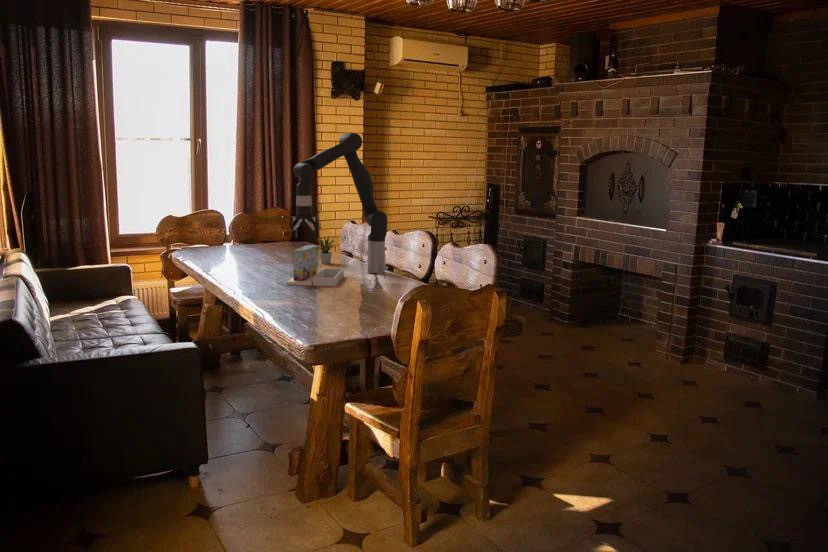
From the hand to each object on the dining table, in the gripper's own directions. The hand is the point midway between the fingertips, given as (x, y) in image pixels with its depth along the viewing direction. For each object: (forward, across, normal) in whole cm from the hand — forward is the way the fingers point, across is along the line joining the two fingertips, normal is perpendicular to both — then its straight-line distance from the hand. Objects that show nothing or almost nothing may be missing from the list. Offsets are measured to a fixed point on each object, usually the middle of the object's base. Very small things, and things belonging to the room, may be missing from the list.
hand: (304, 237), depth 343 cm
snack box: (+20, 0, 0) cm, 20 cm away
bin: (+22, -12, 0) cm, 25 cm away
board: (+21, 0, 0) cm, 21 cm away
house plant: (+22, -1, -51) cm, 56 cm away
